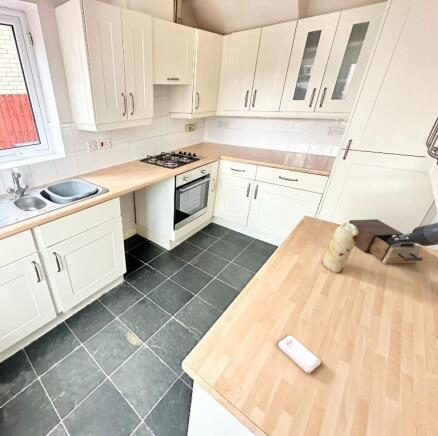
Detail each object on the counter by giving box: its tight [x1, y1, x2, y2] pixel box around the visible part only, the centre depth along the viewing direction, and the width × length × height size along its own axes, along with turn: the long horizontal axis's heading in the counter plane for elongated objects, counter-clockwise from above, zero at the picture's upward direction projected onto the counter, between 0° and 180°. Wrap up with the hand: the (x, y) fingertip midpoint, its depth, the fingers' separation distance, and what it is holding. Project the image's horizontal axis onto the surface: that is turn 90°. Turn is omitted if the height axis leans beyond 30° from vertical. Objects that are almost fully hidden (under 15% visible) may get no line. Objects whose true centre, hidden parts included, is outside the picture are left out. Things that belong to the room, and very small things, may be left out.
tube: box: [386, 235, 401, 254], centre depth 102 cm, size 4×4×8 cm
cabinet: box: [348, 218, 405, 254], centre depth 112 cm, size 13×13×9 cm
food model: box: [323, 222, 359, 274], centre depth 96 cm, size 10×7×20 cm
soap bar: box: [278, 335, 322, 374], centre depth 67 cm, size 5×9×2 cm, turn 28°
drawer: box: [368, 236, 423, 265], centre depth 102 cm, size 17×12×8 cm
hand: (389, 242), depth 104 cm, fingers closed on tube, 3 cm apart
